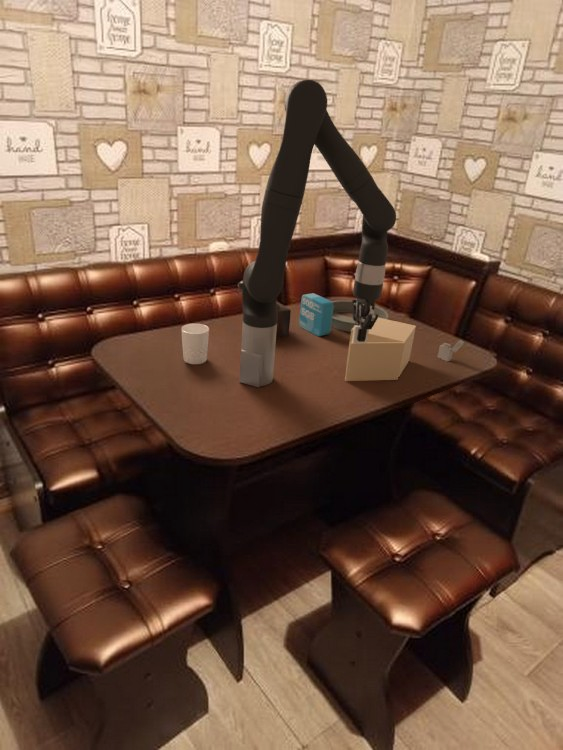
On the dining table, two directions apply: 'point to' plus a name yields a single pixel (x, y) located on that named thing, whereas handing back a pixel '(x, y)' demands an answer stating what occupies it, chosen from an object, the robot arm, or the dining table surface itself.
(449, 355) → the lighter
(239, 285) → the pepper mill
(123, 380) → the dining table surface
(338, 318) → the cake pan
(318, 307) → the data package
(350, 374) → the beige wooden slab
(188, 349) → the white cup
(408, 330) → the carton
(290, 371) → the dining table surface
